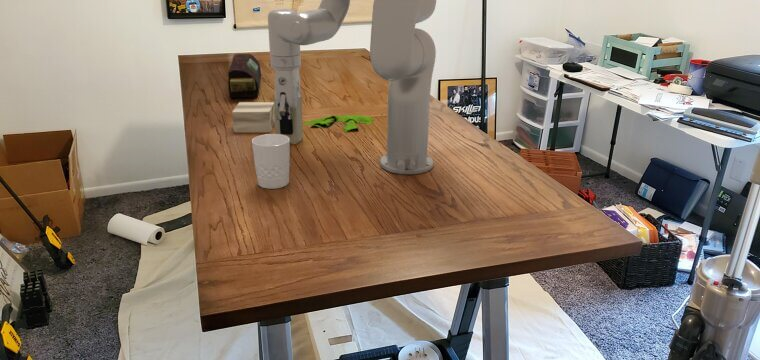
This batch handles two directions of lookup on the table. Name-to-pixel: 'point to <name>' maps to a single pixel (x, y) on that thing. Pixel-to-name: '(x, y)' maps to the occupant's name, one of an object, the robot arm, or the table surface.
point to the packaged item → (244, 76)
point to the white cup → (272, 160)
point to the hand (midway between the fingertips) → (289, 129)
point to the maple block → (253, 117)
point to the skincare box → (296, 119)
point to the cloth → (348, 126)
